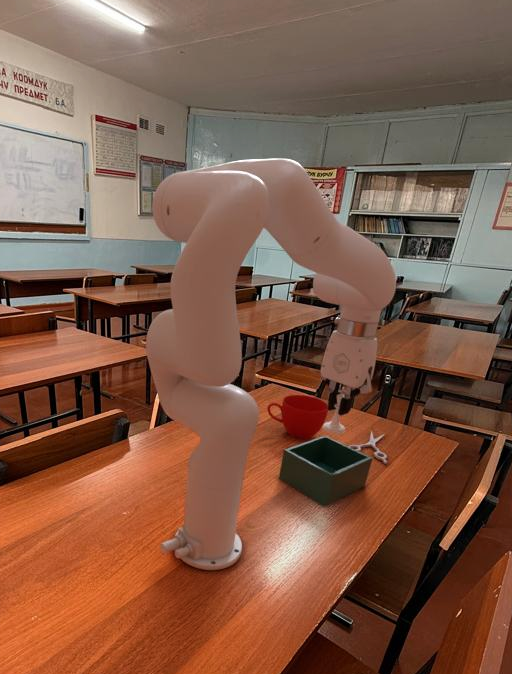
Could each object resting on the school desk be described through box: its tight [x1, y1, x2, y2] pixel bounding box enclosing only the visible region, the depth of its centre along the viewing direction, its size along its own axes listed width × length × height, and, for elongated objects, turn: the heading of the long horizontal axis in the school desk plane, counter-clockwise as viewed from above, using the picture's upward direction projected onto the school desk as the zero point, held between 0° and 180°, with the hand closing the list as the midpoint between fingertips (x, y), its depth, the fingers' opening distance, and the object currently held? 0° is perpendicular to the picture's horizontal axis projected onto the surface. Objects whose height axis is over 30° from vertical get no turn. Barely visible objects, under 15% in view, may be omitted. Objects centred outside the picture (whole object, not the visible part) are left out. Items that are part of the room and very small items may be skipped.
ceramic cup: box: [267, 394, 329, 440], centre depth 127 cm, size 13×17×10 cm
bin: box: [278, 435, 374, 507], centre depth 103 cm, size 16×14×8 cm
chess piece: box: [322, 386, 346, 435], centre depth 96 cm, size 5×5×10 cm
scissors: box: [348, 429, 388, 465], centre depth 125 cm, size 11×1×20 cm
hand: (338, 411), depth 96 cm, fingers closed on chess piece
